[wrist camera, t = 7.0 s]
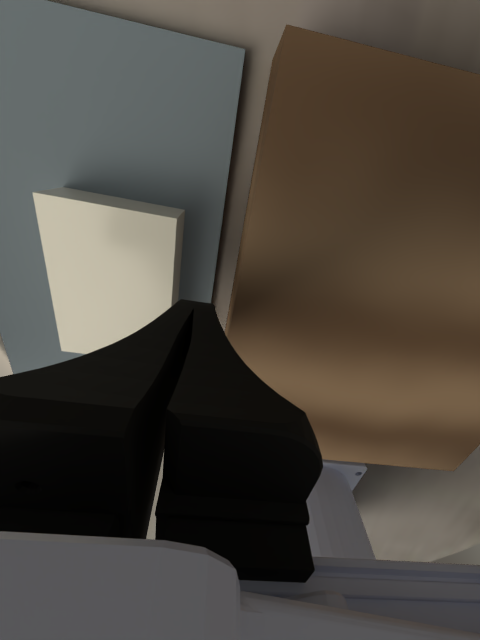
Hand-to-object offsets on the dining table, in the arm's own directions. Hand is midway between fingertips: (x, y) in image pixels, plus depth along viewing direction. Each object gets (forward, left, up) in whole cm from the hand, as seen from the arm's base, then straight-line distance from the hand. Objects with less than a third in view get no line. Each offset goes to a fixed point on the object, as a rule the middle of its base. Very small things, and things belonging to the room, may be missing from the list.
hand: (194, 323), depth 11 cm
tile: (0, +4, -1) cm, 4 cm away
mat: (0, +5, -4) cm, 6 cm away
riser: (0, -10, -4) cm, 10 cm away
